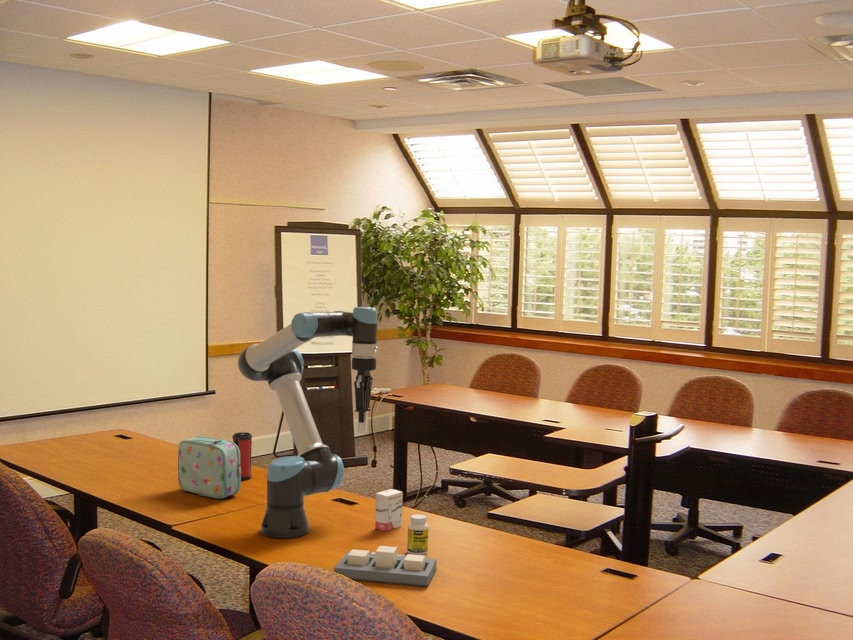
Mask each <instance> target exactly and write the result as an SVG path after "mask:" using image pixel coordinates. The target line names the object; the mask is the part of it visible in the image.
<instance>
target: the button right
mask: <svg viewBox="0 0 853 640" xmlns="http://www.w3.org/2000/svg"><path fill="white" fill-rule="evenodd" d="M425 558H426V555H425V554H424V555H413V554H409V553H407V556H406V558H405V559H404V569H405V570H416V571H425Z"/></svg>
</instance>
